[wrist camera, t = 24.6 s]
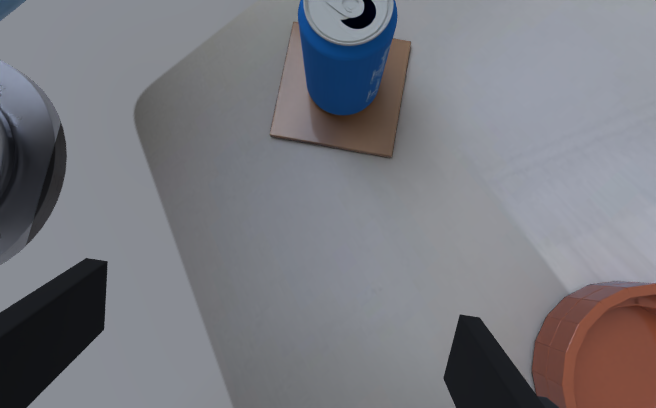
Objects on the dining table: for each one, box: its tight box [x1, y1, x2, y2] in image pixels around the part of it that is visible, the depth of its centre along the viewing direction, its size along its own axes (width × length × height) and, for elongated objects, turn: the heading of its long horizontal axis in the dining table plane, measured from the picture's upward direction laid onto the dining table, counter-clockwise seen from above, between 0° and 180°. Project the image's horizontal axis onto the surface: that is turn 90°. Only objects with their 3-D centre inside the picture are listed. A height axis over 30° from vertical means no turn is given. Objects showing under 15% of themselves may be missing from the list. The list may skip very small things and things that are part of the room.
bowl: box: [532, 281, 656, 408], centre depth 33 cm, size 15×15×5 cm
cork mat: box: [270, 22, 411, 158], centre depth 38 cm, size 11×11×1 cm
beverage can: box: [298, 0, 397, 115], centre depth 32 cm, size 6×6×12 cm
